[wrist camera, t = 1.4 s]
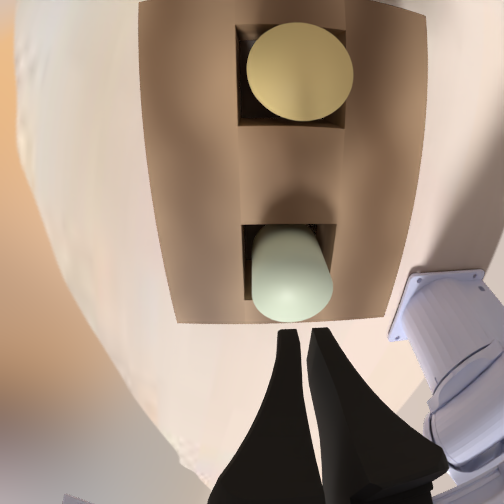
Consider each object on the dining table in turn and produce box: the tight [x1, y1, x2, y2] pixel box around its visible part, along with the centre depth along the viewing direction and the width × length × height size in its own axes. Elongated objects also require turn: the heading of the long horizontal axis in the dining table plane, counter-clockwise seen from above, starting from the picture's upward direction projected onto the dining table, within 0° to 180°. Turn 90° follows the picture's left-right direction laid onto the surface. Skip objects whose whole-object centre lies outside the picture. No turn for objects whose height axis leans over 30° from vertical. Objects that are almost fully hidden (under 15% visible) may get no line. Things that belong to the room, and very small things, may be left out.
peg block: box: [138, 0, 428, 324], centre depth 16 cm, size 14×19×4 cm
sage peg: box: [252, 224, 333, 322], centre depth 16 cm, size 4×4×4 cm
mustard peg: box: [247, 22, 353, 121], centre depth 11 cm, size 4×4×4 cm
